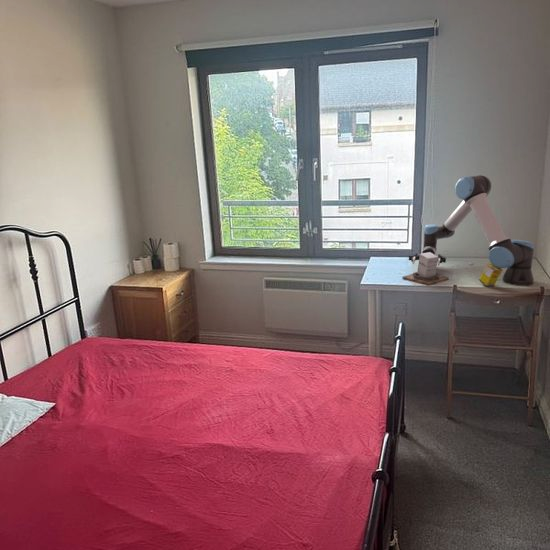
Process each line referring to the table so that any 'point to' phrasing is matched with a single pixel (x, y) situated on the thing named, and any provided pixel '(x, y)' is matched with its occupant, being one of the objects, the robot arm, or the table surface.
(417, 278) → the mount plate
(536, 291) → the table surface
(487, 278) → the supplement box
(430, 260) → the supplement box
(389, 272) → the table surface
